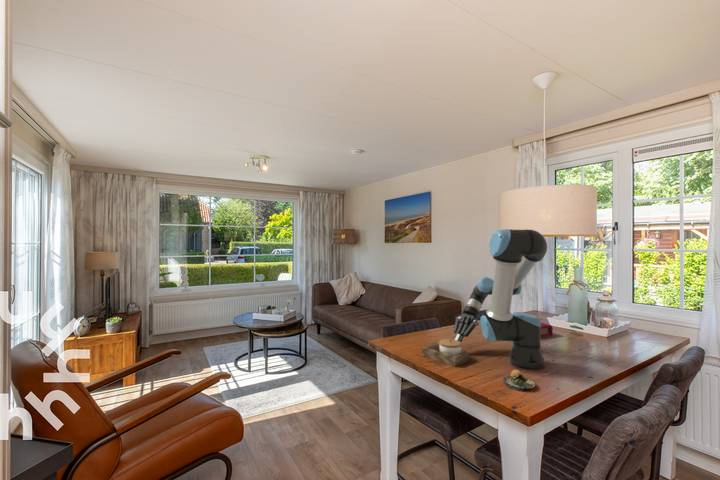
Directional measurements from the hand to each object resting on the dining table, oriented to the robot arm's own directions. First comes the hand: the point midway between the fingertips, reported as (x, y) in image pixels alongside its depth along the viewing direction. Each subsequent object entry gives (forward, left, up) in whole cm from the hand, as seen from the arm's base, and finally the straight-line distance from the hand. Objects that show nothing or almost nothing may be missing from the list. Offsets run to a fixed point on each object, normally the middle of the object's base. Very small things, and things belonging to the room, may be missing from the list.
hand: (454, 346), depth 167 cm
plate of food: (-37, +12, -5) cm, 39 cm away
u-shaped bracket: (0, +10, -4) cm, 10 cm away
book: (-4, -70, -5) cm, 70 cm away
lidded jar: (-2, +6, -4) cm, 8 cm away
